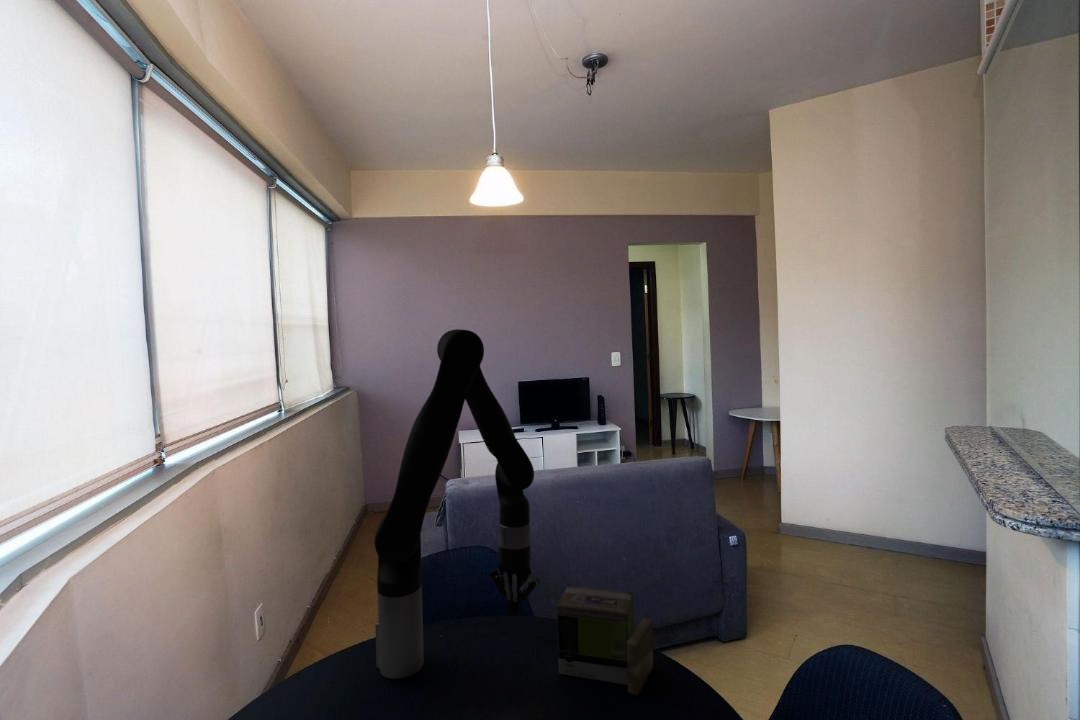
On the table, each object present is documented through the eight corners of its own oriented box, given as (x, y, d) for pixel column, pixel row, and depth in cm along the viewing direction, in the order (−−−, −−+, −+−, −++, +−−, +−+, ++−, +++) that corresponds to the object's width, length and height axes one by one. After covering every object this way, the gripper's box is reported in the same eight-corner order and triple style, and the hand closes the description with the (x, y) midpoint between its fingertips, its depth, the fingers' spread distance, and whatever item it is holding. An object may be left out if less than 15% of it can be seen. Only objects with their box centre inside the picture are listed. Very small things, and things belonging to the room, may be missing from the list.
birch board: (627, 692, 99) (626, 642, 98) (644, 664, 107) (643, 618, 107) (637, 695, 98) (636, 644, 97) (653, 666, 106) (652, 620, 106)
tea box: (635, 658, 110) (634, 591, 109) (630, 688, 100) (628, 614, 100) (569, 647, 114) (567, 583, 114) (557, 675, 104) (555, 605, 104)
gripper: (482, 541, 117) (482, 615, 118) (530, 552, 111) (530, 630, 111) (499, 531, 124) (499, 601, 124) (546, 541, 117) (546, 614, 118)
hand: (514, 614), depth 118 cm, fingers closed
